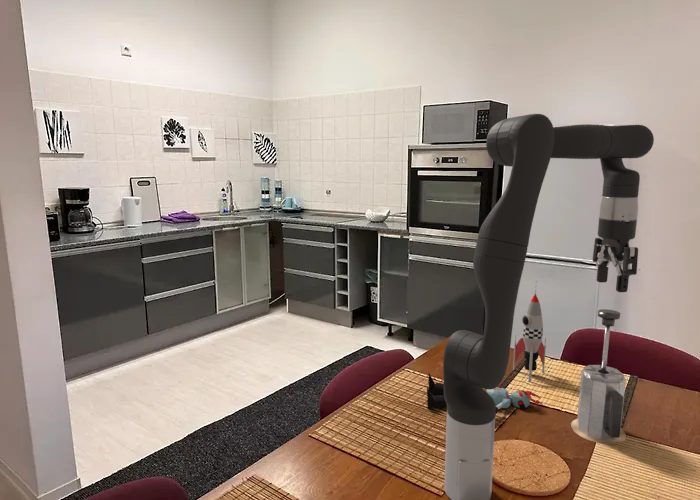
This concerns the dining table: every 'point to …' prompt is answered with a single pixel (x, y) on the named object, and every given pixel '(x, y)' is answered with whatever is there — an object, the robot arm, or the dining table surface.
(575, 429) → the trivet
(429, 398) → the toy
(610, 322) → the plunger
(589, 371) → the french press
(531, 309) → the toy
